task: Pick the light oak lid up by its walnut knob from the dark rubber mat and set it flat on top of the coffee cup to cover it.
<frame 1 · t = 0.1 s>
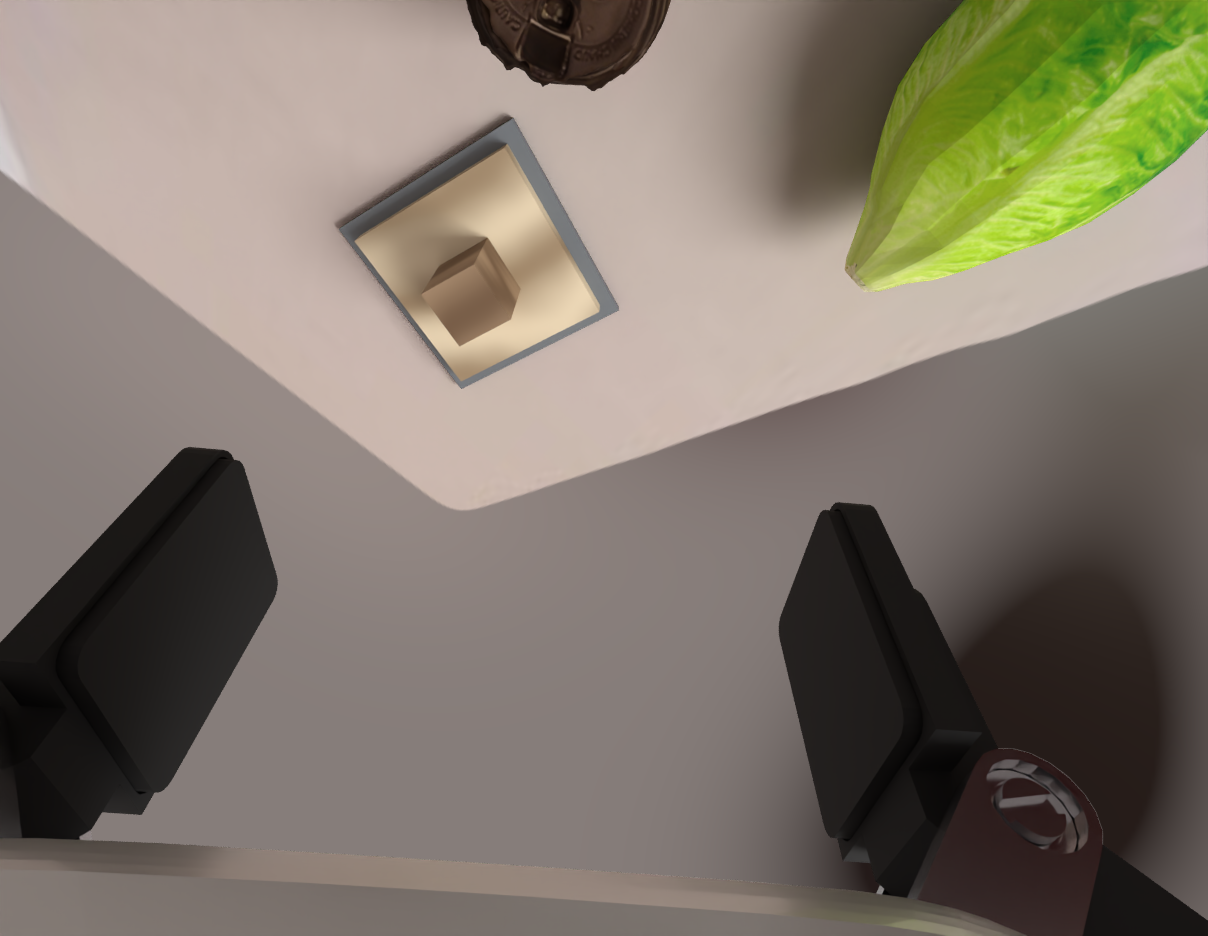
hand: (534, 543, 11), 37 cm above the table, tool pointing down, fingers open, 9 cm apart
lid: (483, 271, 46), point 1 cm above the table, touching mat
mat: (484, 268, 46), on the table
lettuce: (957, 118, 40), on the table
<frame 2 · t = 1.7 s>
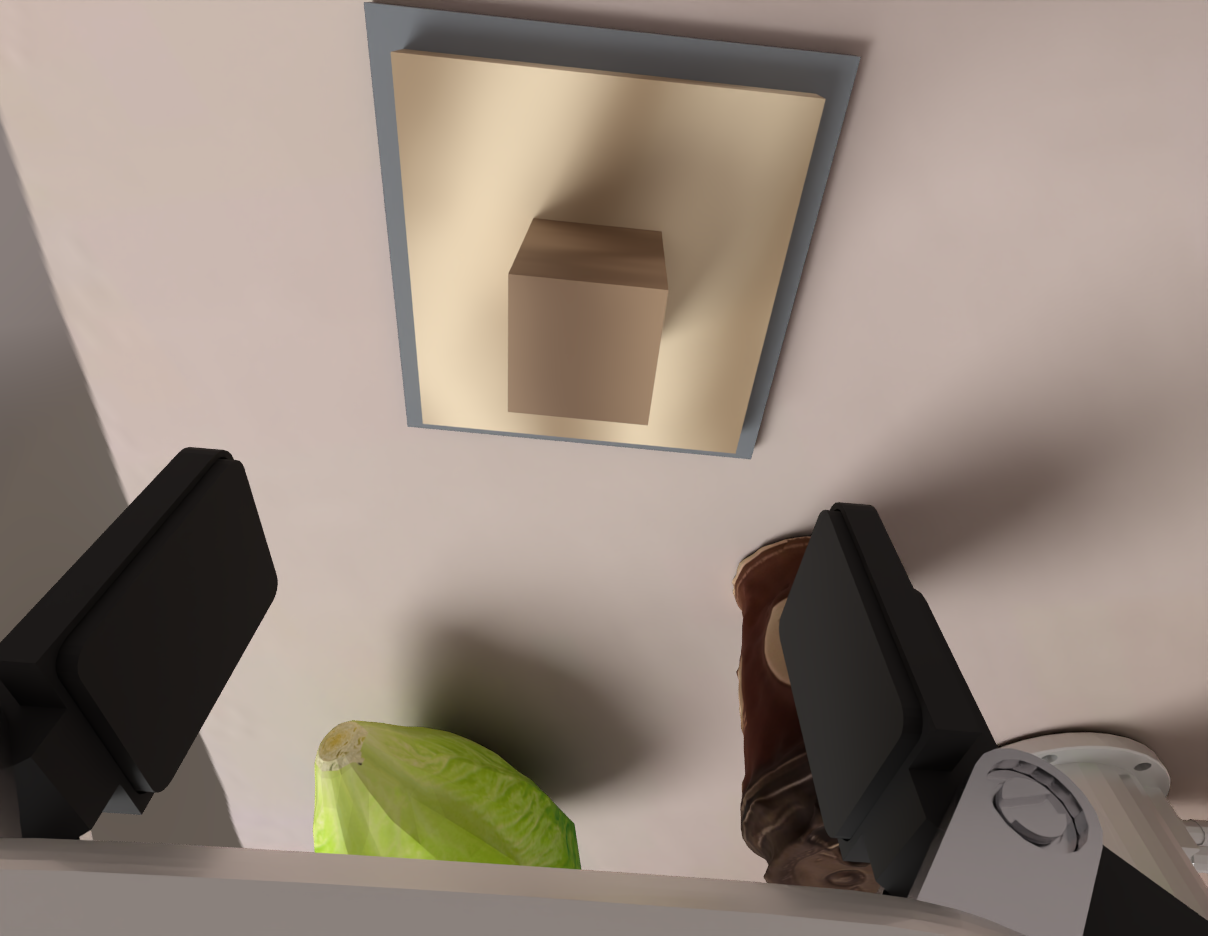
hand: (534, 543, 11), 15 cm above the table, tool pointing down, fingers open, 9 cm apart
lid: (594, 274, 22), point 1 cm above the table, touching mat
mat: (595, 268, 23), on the table
lettuce: (460, 741, 41), on the table
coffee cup: (798, 574, 32), on the table
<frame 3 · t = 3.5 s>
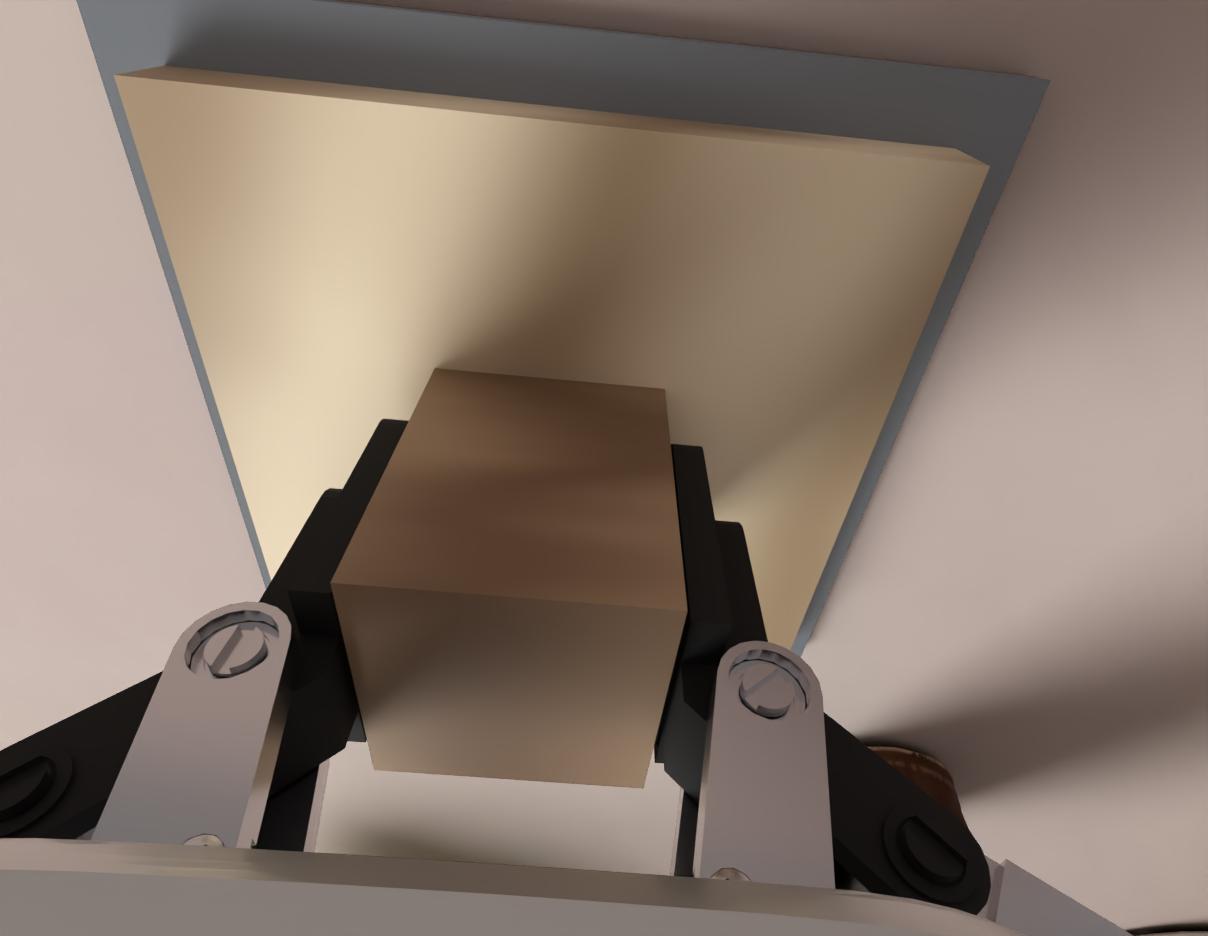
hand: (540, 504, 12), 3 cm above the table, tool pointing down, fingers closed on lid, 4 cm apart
lid: (551, 435, 13), point 1 cm above the table, touching gripper, mat
mat: (554, 419, 14), on the table
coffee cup: (850, 779, 23), on the table
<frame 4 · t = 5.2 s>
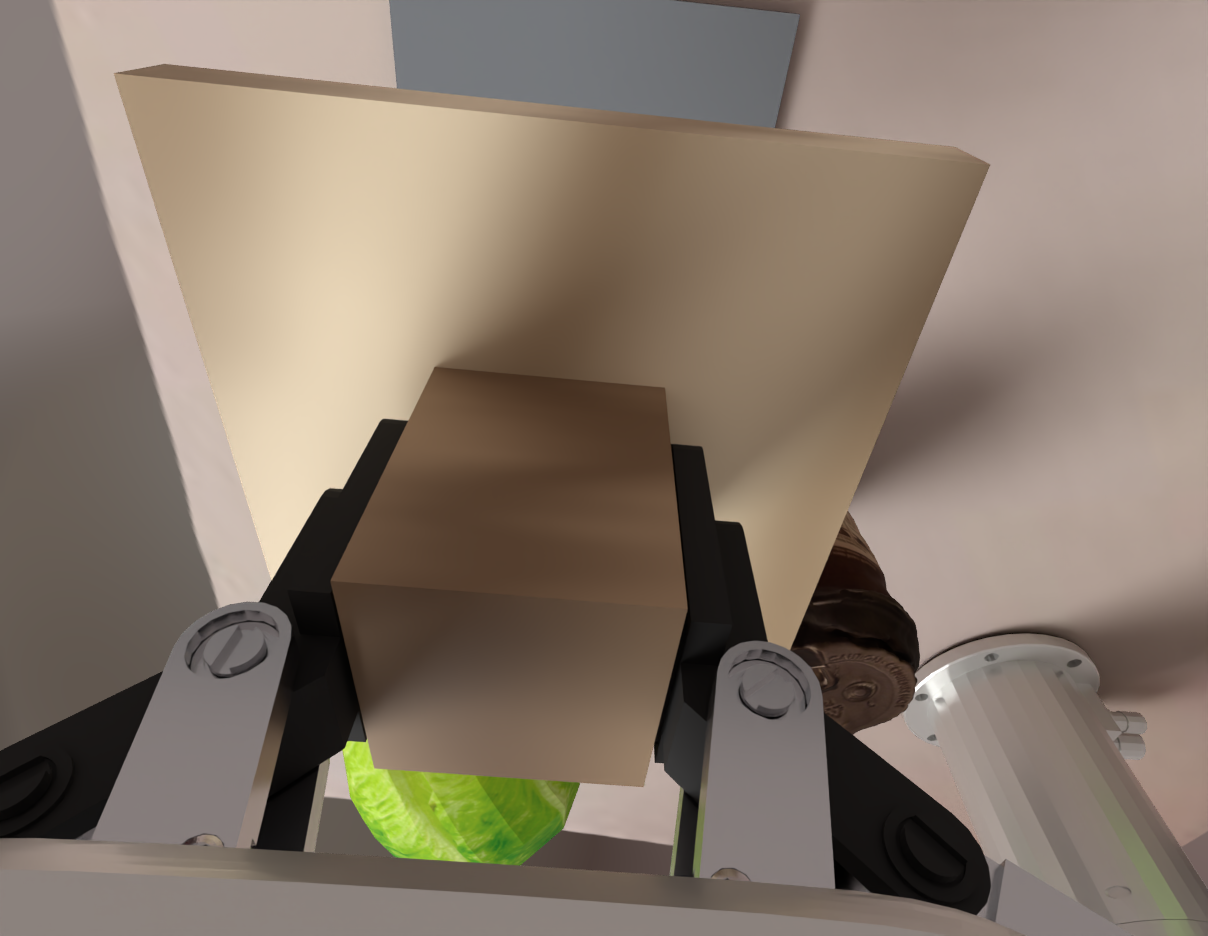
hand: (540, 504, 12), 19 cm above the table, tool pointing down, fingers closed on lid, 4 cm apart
lid: (551, 434, 13), point 17 cm above the table, touching gripper
mat: (582, 202, 27), on the table
lettuce: (465, 656, 45), on the table
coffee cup: (765, 486, 36), on the table
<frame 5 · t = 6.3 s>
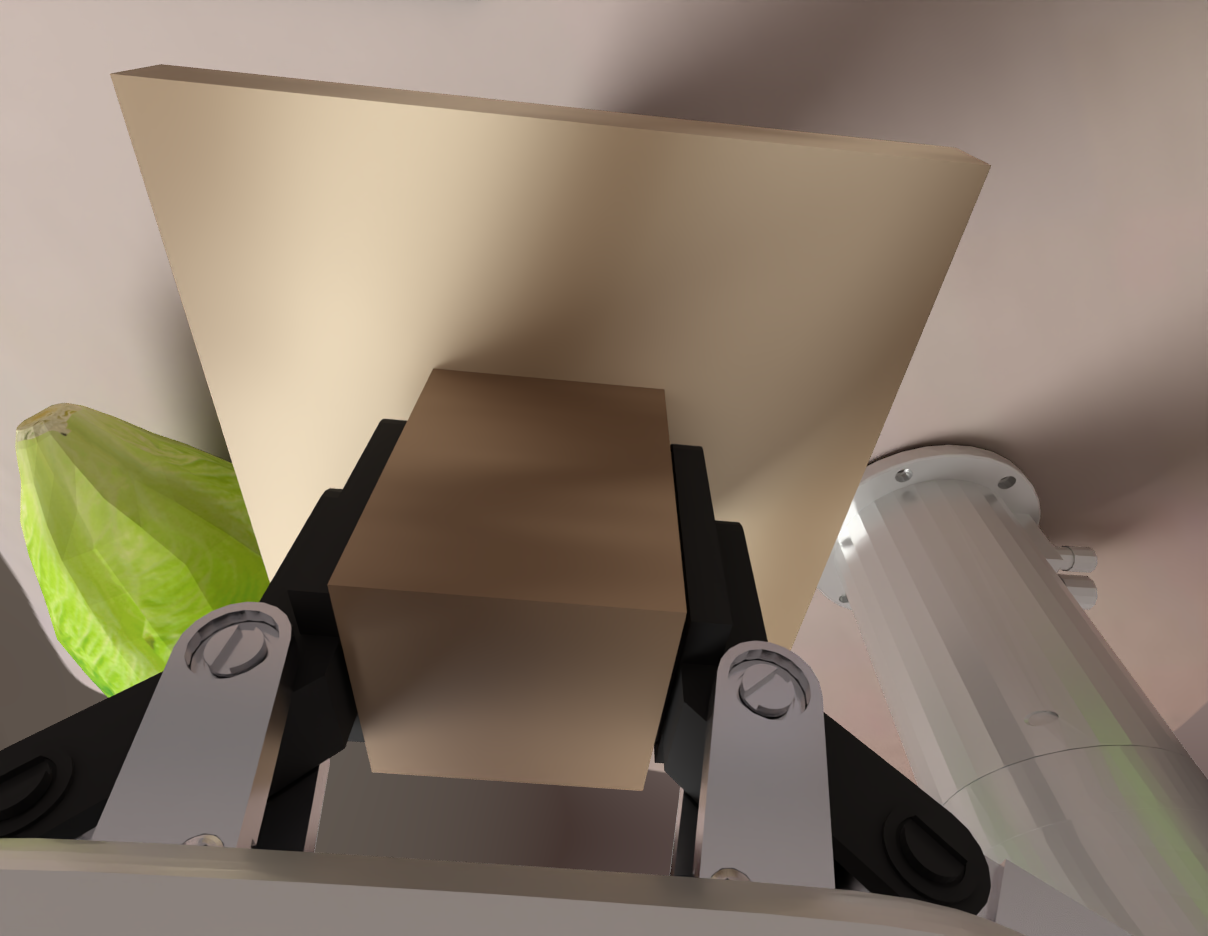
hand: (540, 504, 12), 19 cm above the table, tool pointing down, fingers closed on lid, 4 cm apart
lid: (550, 435, 13), point 17 cm above the table, touching gripper
lettuce: (263, 498, 37), on the table
when the fingers open (17 cm above the table, at t = 7.3 s): lid drops 2 cm, resting on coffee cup.
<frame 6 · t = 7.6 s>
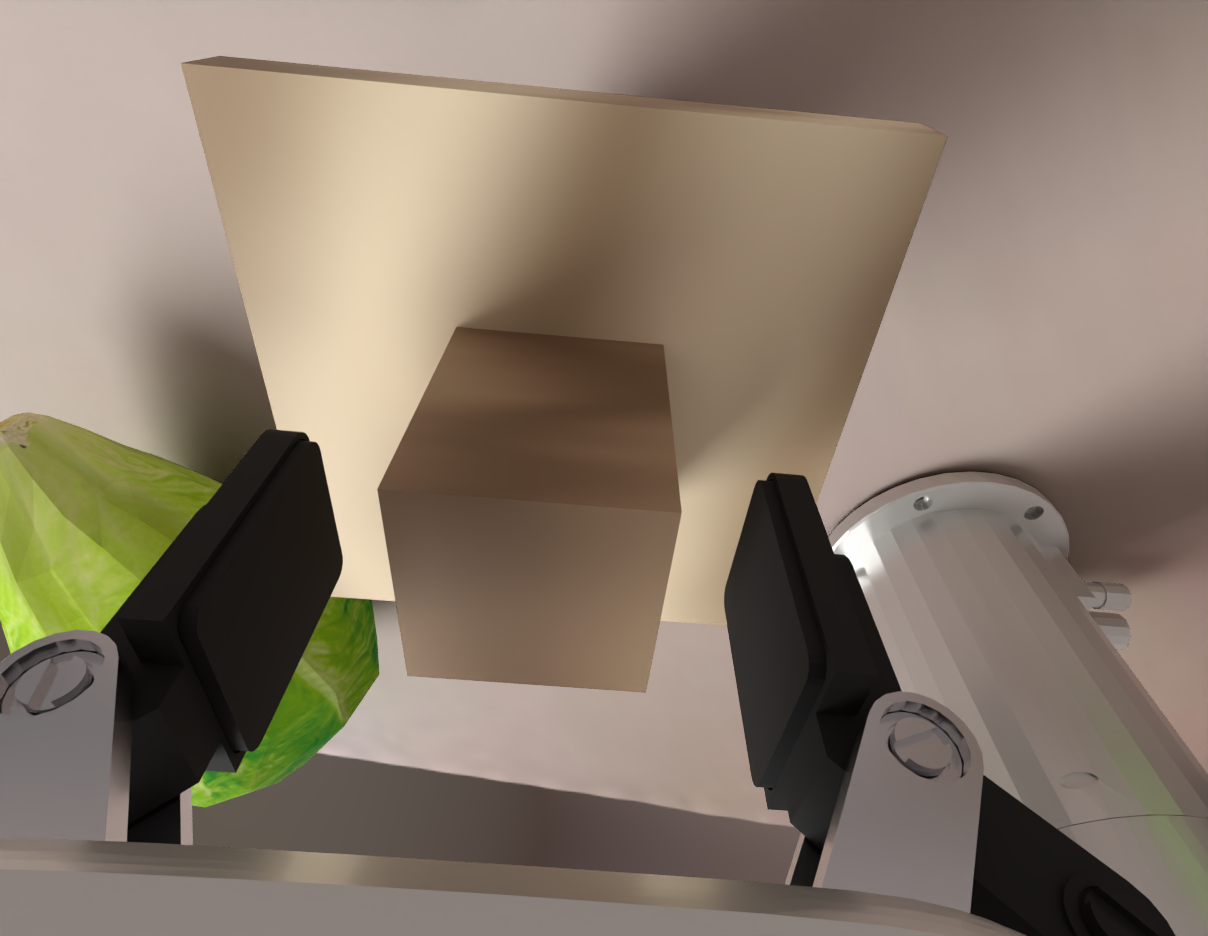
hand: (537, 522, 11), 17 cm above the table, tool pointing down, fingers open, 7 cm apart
lid: (560, 394, 15), point 13 cm above the table, touching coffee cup
lettuce: (245, 515, 35), on the table
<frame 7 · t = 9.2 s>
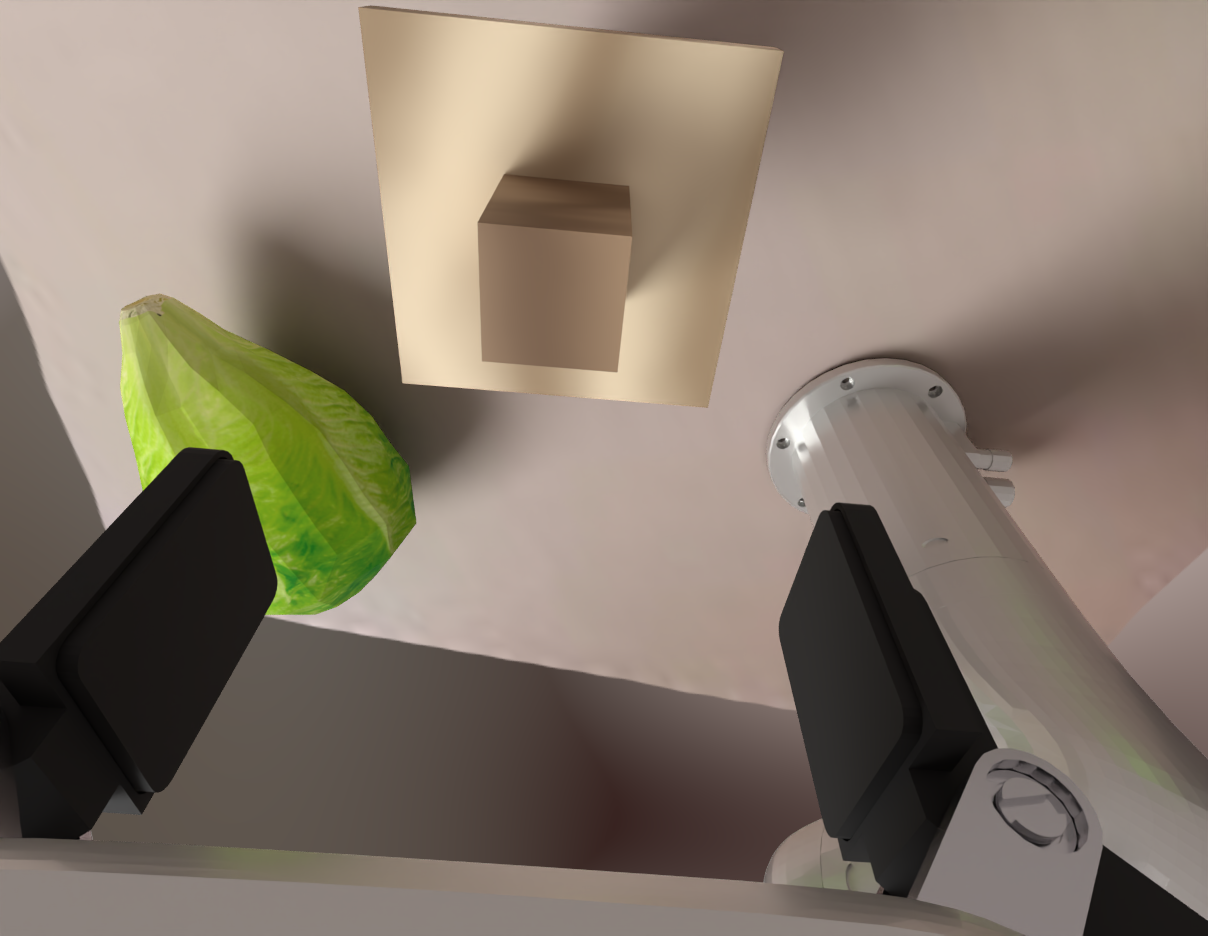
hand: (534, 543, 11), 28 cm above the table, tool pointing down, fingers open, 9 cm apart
lid: (565, 231, 23), point 13 cm above the table, touching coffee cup
lettuce: (304, 402, 43), on the table
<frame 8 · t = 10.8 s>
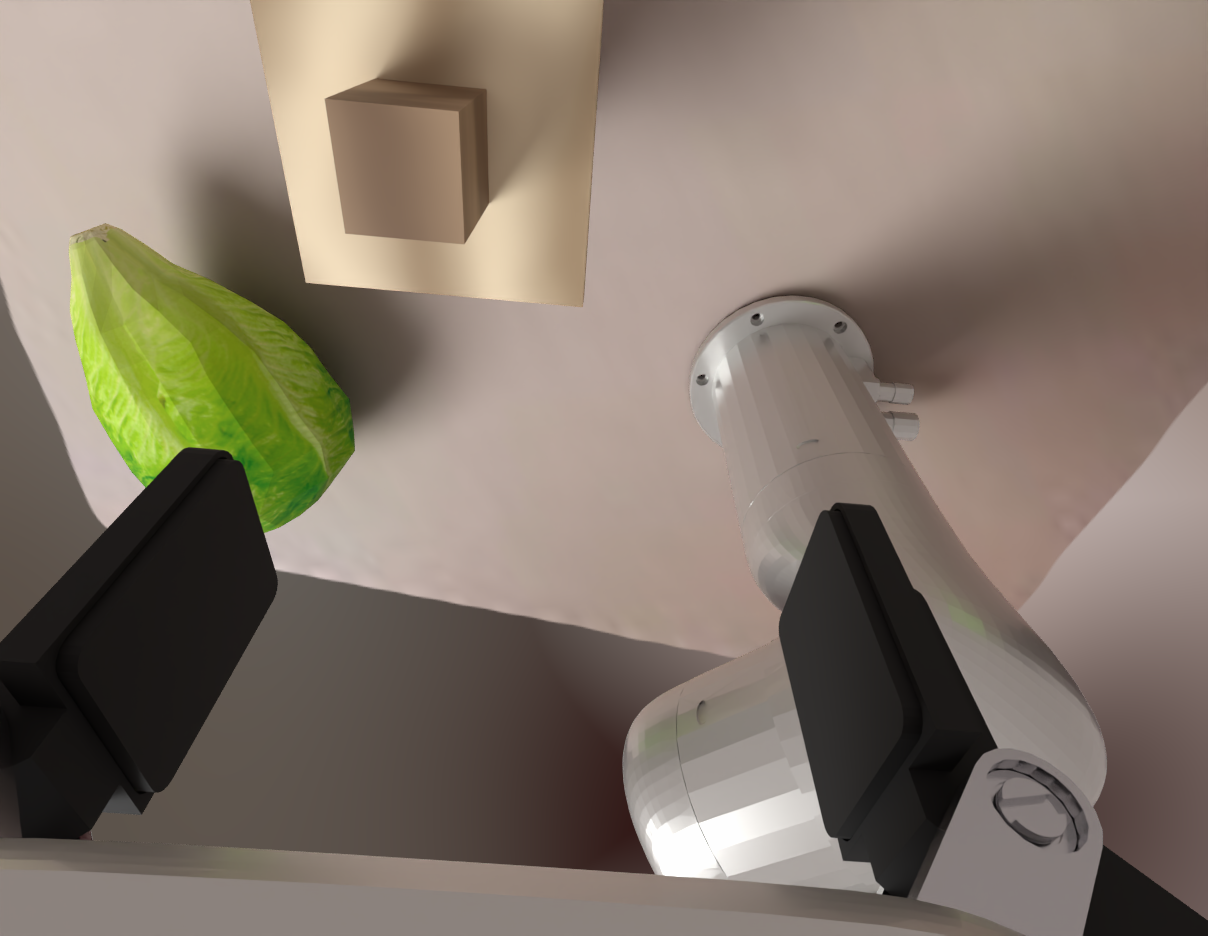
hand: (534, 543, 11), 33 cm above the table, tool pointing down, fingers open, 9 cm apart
lid: (442, 138, 26), point 13 cm above the table, touching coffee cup
lettuce: (254, 342, 46), on the table
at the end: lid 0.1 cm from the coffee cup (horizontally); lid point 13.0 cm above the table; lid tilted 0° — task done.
